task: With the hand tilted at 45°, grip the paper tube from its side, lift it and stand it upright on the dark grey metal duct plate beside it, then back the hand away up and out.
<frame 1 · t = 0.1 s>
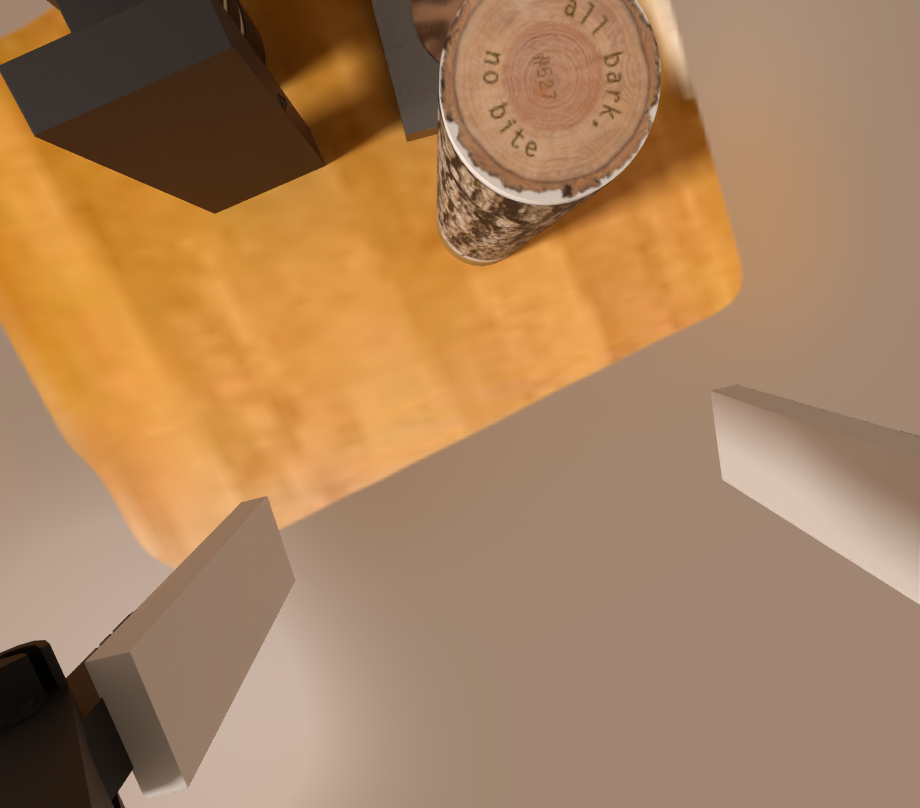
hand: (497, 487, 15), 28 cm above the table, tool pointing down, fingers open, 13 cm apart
duct plate: (473, 17, 37), on the table
light fixture: (228, 98, 38), on the table
paper tube: (479, 222, 40), on the table
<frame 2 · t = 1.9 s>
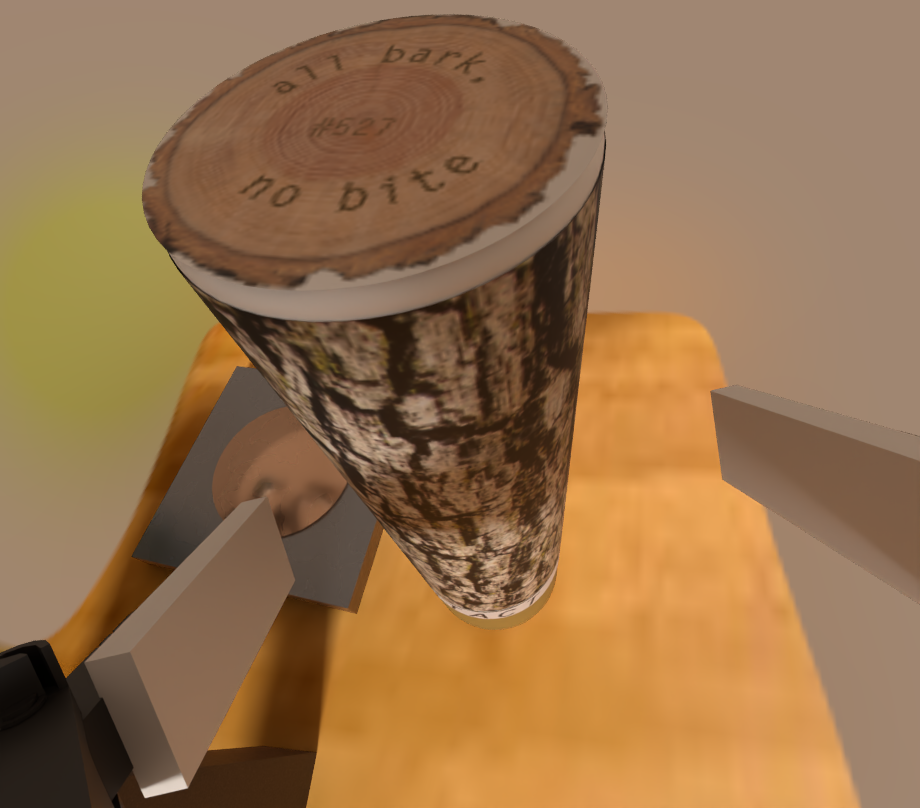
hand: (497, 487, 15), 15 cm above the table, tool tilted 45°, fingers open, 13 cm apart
duct plate: (293, 477, 33), on the table
paper tube: (495, 567, 29), on the table
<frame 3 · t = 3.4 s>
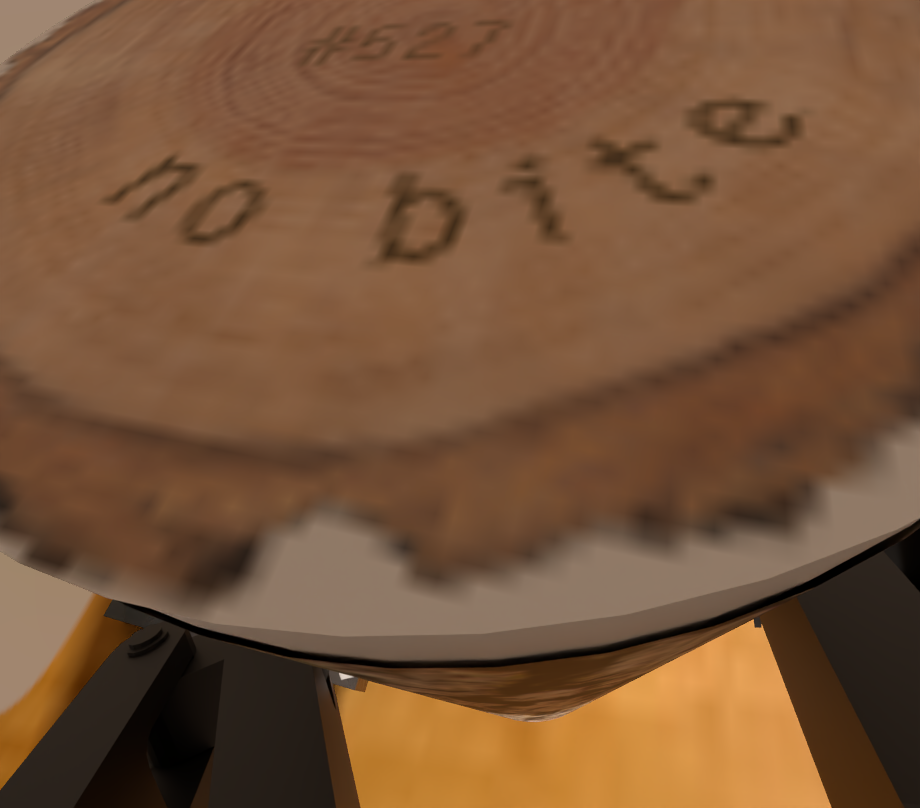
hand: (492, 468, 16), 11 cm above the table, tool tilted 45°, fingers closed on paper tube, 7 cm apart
duct plate: (292, 521, 29), on the table
paper tube: (528, 638, 24), on the table, touching gripper
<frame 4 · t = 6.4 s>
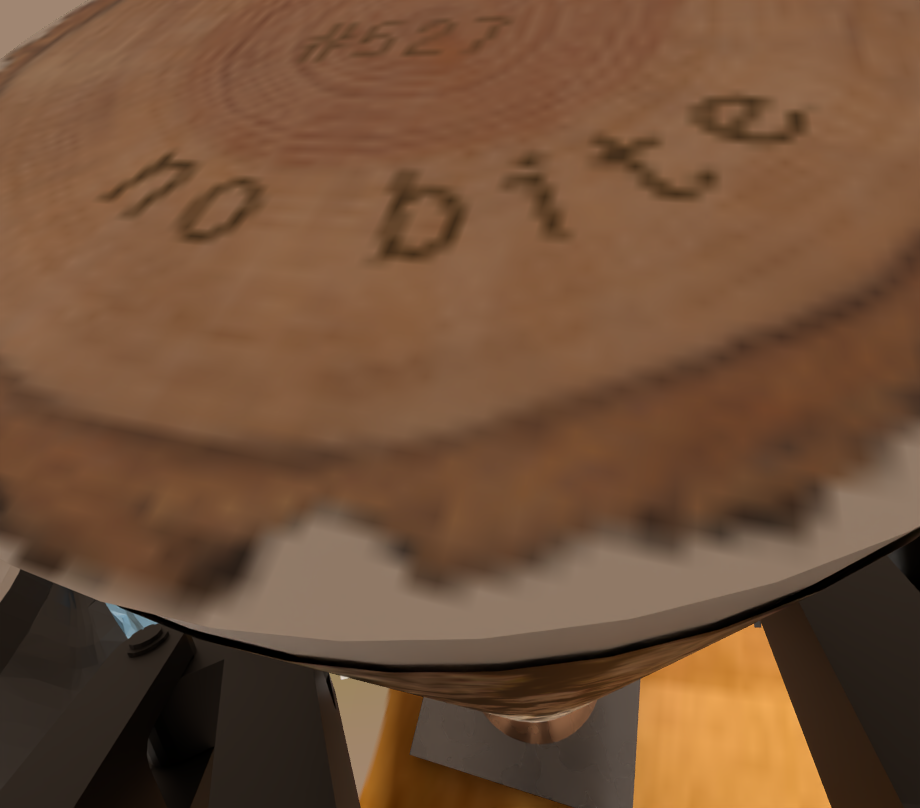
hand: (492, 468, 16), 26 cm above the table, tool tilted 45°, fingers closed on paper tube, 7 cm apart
duct plate: (533, 668, 36), on the table
paper tube: (528, 638, 24), point 15 cm above the table, touching gripper
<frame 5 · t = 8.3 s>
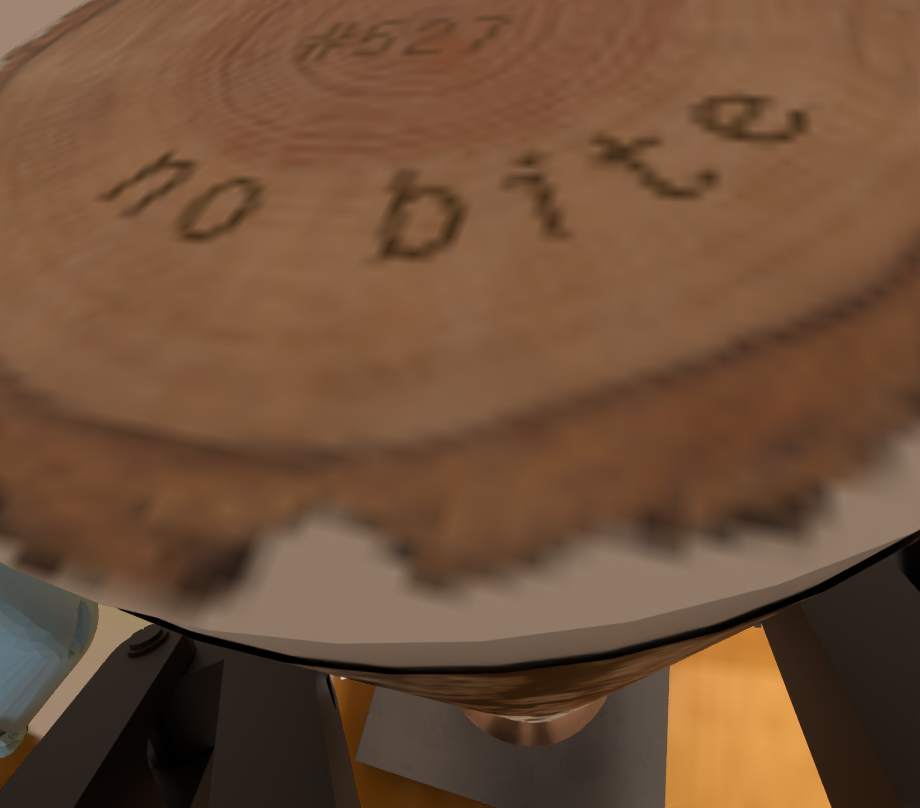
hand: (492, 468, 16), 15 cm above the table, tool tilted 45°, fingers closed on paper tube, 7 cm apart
duct plate: (525, 644, 27), on the table
paper tube: (528, 638, 24), point 4 cm above the table, touching gripper
when the fingers open (14 cm above the table, at t = 9.4 s): paper tube drops 1 cm, resting on duct plate.
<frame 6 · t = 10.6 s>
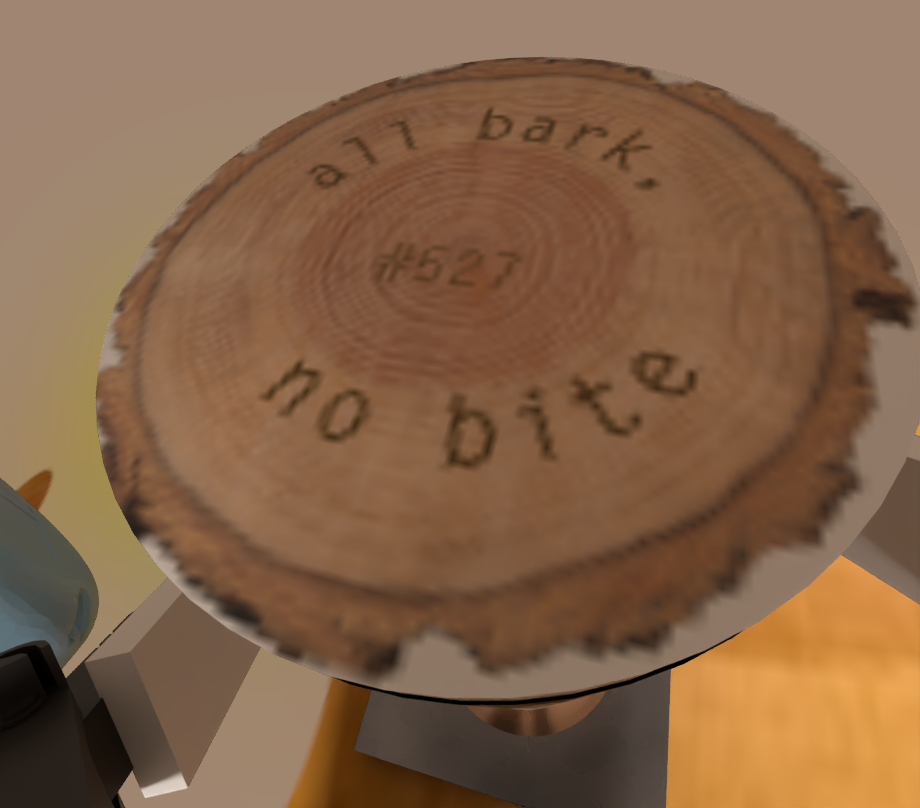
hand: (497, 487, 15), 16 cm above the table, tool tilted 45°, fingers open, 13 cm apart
duct plate: (526, 635, 27), on the table
paper tube: (524, 631, 26), point 2 cm above the table, touching duct plate
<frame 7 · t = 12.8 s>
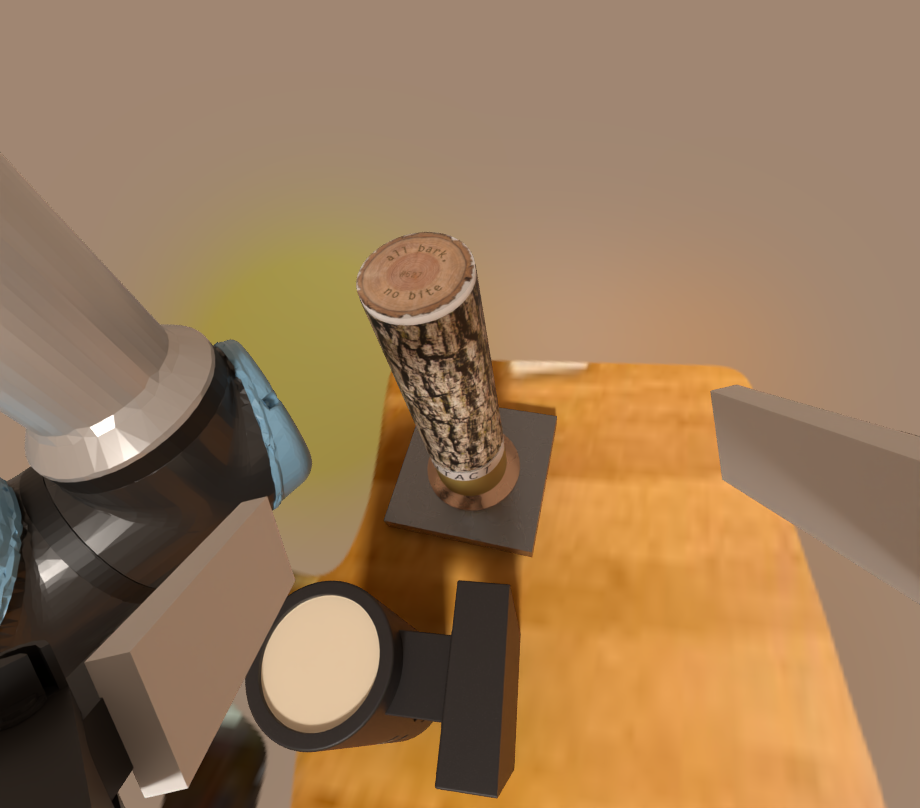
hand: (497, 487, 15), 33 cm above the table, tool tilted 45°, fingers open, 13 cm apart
duct plate: (475, 472, 51), on the table
light fixture: (432, 687, 41), on the table
paper tube: (472, 466, 49), point 2 cm above the table, touching duct plate
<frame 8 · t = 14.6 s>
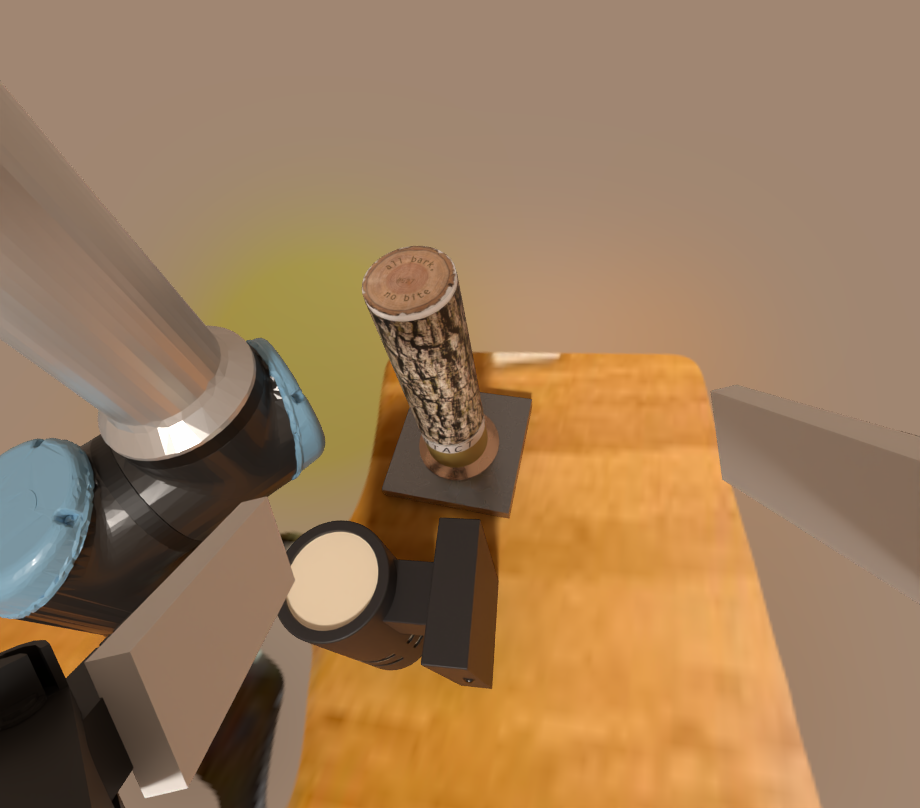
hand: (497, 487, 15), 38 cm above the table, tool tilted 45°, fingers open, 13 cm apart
duct plate: (460, 449, 58), on the table
light fixture: (423, 626, 49), on the table
paper tube: (458, 443, 57), point 2 cm above the table, touching duct plate
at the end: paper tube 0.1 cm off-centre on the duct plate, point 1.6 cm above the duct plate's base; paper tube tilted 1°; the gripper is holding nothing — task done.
